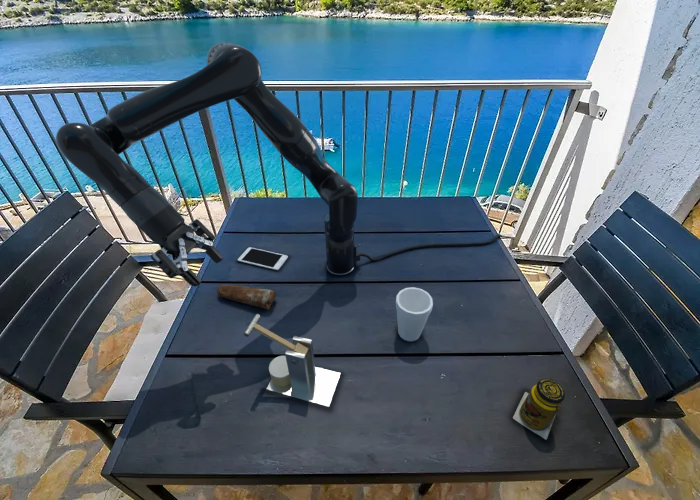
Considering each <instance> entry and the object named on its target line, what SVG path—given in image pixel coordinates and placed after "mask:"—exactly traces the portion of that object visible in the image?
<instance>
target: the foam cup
mask: <svg viewBox="0 0 700 500" xmlns="http://www.w3.org/2000/svg"><path fill="white" fill-rule="evenodd" d="M395 297H396V298H395V309H396V319H397V333H398V335H399V337H400V338H401V339H402V340H404V341H407V342H415V341H417V340H419V338H420V337H421V335H422V333H423V331H424V328H425V326H426V323H427V322H428V319H429V316H430V314H431V313H432V311H433V307H434V306H433V305H434V299H433V297H432V296H431V295H430V293H429V292H428V291H426V290H424V289H422V288H419V287H415V286H413V287H405V288H403V289H401V290H399V292H398V293H397V294H396V296H395Z"/></svg>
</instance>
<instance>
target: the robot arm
mask: <svg viewBox="0 0 700 500" xmlns="http://www.w3.org/2000/svg"><path fill="white" fill-rule="evenodd" d="M260 63H261V62H260V61H259V59H258V58H257V56H256V55H255V54H254V53H253V52H252V51H250V49H247V48H246V47H244V46H242V45H239V44H236V43H233V42H227V41H226V42H225V41H224V42H218V43H216V44H214V45H212V46H211V47H210V49H209V50H208V51H207V55H206V66H204V67H203V68H201V69H200V70H198V71H197V72H195V73H193V74H190V75H189V76H186V77H184V78H181V79H179V80H176V81H174V82H170V83H167V84H163V85H159V86H157V87H153V88H150V89H147V90H144V91H142V92H140V93H138V94H136V95H134V96H131V97H129V98H128V99H125V100H123V101H121V102H120V103H117V104H115V105H114V106H112V107H111V108H110V109H108V111H107V114H106V116H104V117H101V119H99V120H97V121H95V122H93V123H91V124H86V123H83V122H68V123H65V124H63V125H62V126H60V128H58V129H57V132H56V135H55V144H56V146H57V149H58V150H59V152H60V153H61V154H62V156H64V158H65V159H66V160H67V161H68V162H69V163H70V164H72V165H73V166H74V167H75V168H76V169H77V170H79V171H80V172H81V173H83V174H84V175H85V176H86V177H88V178H89V179H90V180H91V181H93V183H95V184H97V185H98V186H99V187H100V188H101V189H102V190H103V191H104V193H106V195H108V197H109V198H111V200H112V201H113V202H115V204H117V206H118V207H120V209H121V210H122V211H123V212H124V213H125V215H126V216H127V217H128V218H129V220H131V221H132V222H133V224H135V225H136V226H137V228H139V229H140V231H142V233H144V235H146V236H147V237H148V239H150V241H152V243H156V244H158V245H159V247H160V249H158V250H156V251H154V252H153V253H152V254H151V255H150V259H151V260H152V261H153V263H155V264H156V266H158V267H159V269H160V270H161V271H162V272H163V273H164V274H165V275H166V276H167V277H168V278H169V279H173V278H175V277H178V276H179V277H181V278H182V279H183V280H184V281H185V282H187V284H188V285H190V286H192V287H195V288H196V287H198V286H200V285H201V284H202V282H203V281H202V279H201V278H200V277H199V276H198V275H197V274H196V273H195V272H194V271H193V270H192V269H191V268H189V266H188V262H187V260H188V255H189V253H191V251H192V250H194V249H200V250H204V252H205V254H206V255H207V256H208V257H209V258H210V259H211V260H212V261H213V262H214V263H215V264H219V263H220V262H222V261H223V260H224V257H223V255H222V254H221V252H220V251H219V249H217V248H216V247H215V246H214V241H215V240H216V236H215V234H213V233H212V232H211V231H210V229H209V228H207V226H206V225H204V224H203V223H202V222H201V220H199V218H196V219H193V220H192V221H191V222H190V223H189V224H187V223H186V222H185V218H184V217H183V216H182V215H181V213H180V212H179V211H178V210H177V209H176V208H175V207H174V205H172V204H171V203H170V202H169V201H168V200H167V198H165V197H164V196H163V194H162V193H161V192H159V191H158V190H157V189H156V188H155V187H153V185H151V184H150V183H149V182H148V180H147V179H145V177H144V176H143V175H142V174H141V173H140V172H139V171H138V170H137V169H136V168H135V167H134V166H132V165H131V164H129V163H128V162H126V161H125V160H124V159H123V158H122V157H121V156H120V154H122V153H123V152H124V151H126V150H128V149H129V148H131V147H132V146H133V145H134V144H136V143H138V142H140V141H143V140H145V139H147V138H149V137H151V136H153V135H155V134H156V133H158V132H159V133H160V131H163V130H164V129H166V128H168V127H169V126H171V125H174V124H175V123H178V122H179V121H181V120H183V119H186V118H187V117H189V116H192V115H194V114H196V113H198V112H201V111H203V110H206V109H208V108H211V107H213V106H216V105H219V104H221V103H226V102H228V101H231V100H233V101H235V102H236V103H237V104H238V105H239V107H241V108H242V109H243V110H244V111H245V113H247V114H248V115H249V116H250V118H251V119H252V121H253V122H254V123H255V124H256V126H257V127H258V128H259V130H260V131H261V133H262V134H263V136H264V137H266V139H267V140H268V141H269V142H270V143H271V145H272V146H273V147H274V149H275V150H276V151H277V152H278V153H279V154H280V155H281V156H282V157H283V158H284V159H285V161H287V163H288V164H290V165H291V166H292V167H293V168H294V169H296V170H297V171H298V172H300V173H301V174H302V175H304V176H305V178H307V180H308V181H309V183H310V184H311V185H312V187H313V188H314V189H315V191H316V192H317V194H318V196H319V197H320V198H321V200H322V201H323V202H324V203H325V204H326V205H327V206H328V212H329V213H328V214H327V215H326V216H325V217H324V221H323V222H324V235H325V236H324V237H325V238H324V239H325V253H326V254H325V255H326V270H327V272H328V273H329V274H331V275H333V276H336V277H337V276H338V277H343V276H348V275H350V274H351V273H352V272H353V271H354V270H355V269H356V268H357V262H359V261H361V257H364V258H367V259H368V260H369V261H372V262H378V261H382V260H384V259H386V258H388V257H391V256H393V255H397V254H400V253H403V252H406V251H410V250H415V249H420V248H421V249H422V248H430V247H458V246H459V247H460V246H461V247H463V246H466V247H467V246H482V245H488V244H490V243H491V244H492V243H493V242H494V241H495V240H497V239H498V238H503V235H502V234H501V233H498V234H496V235H495V236H494V237H493V238H491V239H489V240H487V241H479V242H478V241H476V242H456V243H455V242H452V243H451V242H450V243H449V242H448V243H447V242H445V243H428V244H419V245H418V244H417V245H412V246H407V247H404V248H401V249H397V250H395V251H392V252H388V253H386V254H384V255H382V256H380V257H375V258H372V257H371V256H370V255H369V254H366V253H362V252H359V251H358V250H357V245H356V244H355V222H356V221H357V217H358V203H359V202H358V201H359V200H358V199H359V198H358V190H357V188H356V187H355V185H353V183H351V182H350V181H349V180H348V179H347V178H345V177H344V176H342V174H340V173H339V171H337V170H336V169H334V167H332V165H331V164H330V162H328V161H327V159H326V158H325V157H324V155H323V153H322V150H321V148H320V145H319V143H318V141H317V140H316V138H315V137H314V135H313V134H312V133H311V132H310V129H308V127H307V126H306V125H305V124H304V122H303V121H302V120H301V119H300V118H299V117H298V116H297V115H296V113H294V112H293V111H292V110H291V109H290V108H289V107H288V106H287V105H285V104H284V102H282V101H281V100H280V99H278V97H277V96H275V94H274V93H273V92H272V91H271V90H270V88H268V87H267V86H266V84H265V83H264V81H263V80H262V66H261V64H260ZM169 255H170V257H169Z"/></svg>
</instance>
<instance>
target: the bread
mask: <svg viewBox="0 0 700 500" xmlns="http://www.w3.org/2000/svg"><path fill="white" fill-rule="evenodd" d="M276 291H277V290H273V289H268V288H261V287H251V286H244V285H234V284H220V285H219V286H217V290H216V295H217V297H219V298H222V299H227V300H230V301H233V302H238V303H241V304H246V305H249V306H253V307H255V308H256V307H257V308H260V309H265V310H270V309H271V305H273V303H274V301H275V300H276V299H275V298H276V296H277V292H276Z"/></svg>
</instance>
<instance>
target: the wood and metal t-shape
mask: <svg viewBox="0 0 700 500" xmlns="http://www.w3.org/2000/svg"><path fill="white" fill-rule="evenodd" d="M261 317H262V316H261V315H260V314H259V313H256V314H255V315H254V317H253V318H252V320H251V321H250V323H249V325H248V326H247V328H246V329H245V331H244V332H243V336H244V337H249V336H250V335H251V333H252V332H253V331H255V332H257V333H259V334H261V335H262V336H265V338H267V339H269V340H272V341H273V342H275V343H277V344H279V345H280V346H282V347H284V348H285V349H286V350H288V351H292V352H296V353H300V354H304V355H306V353H307V351H308V348H307V347H305V346H303V345H302V344H300V343H297V344H296V345H294V344H293V342H291V341H288V340H286V339H285V338H283V337H281V336H279V335H277V334H276V333H274V332H272V331H271V330H269V329H267V328H266V327H263V326H262V325H261V324H258V322H259V321H260V320H261Z"/></svg>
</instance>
